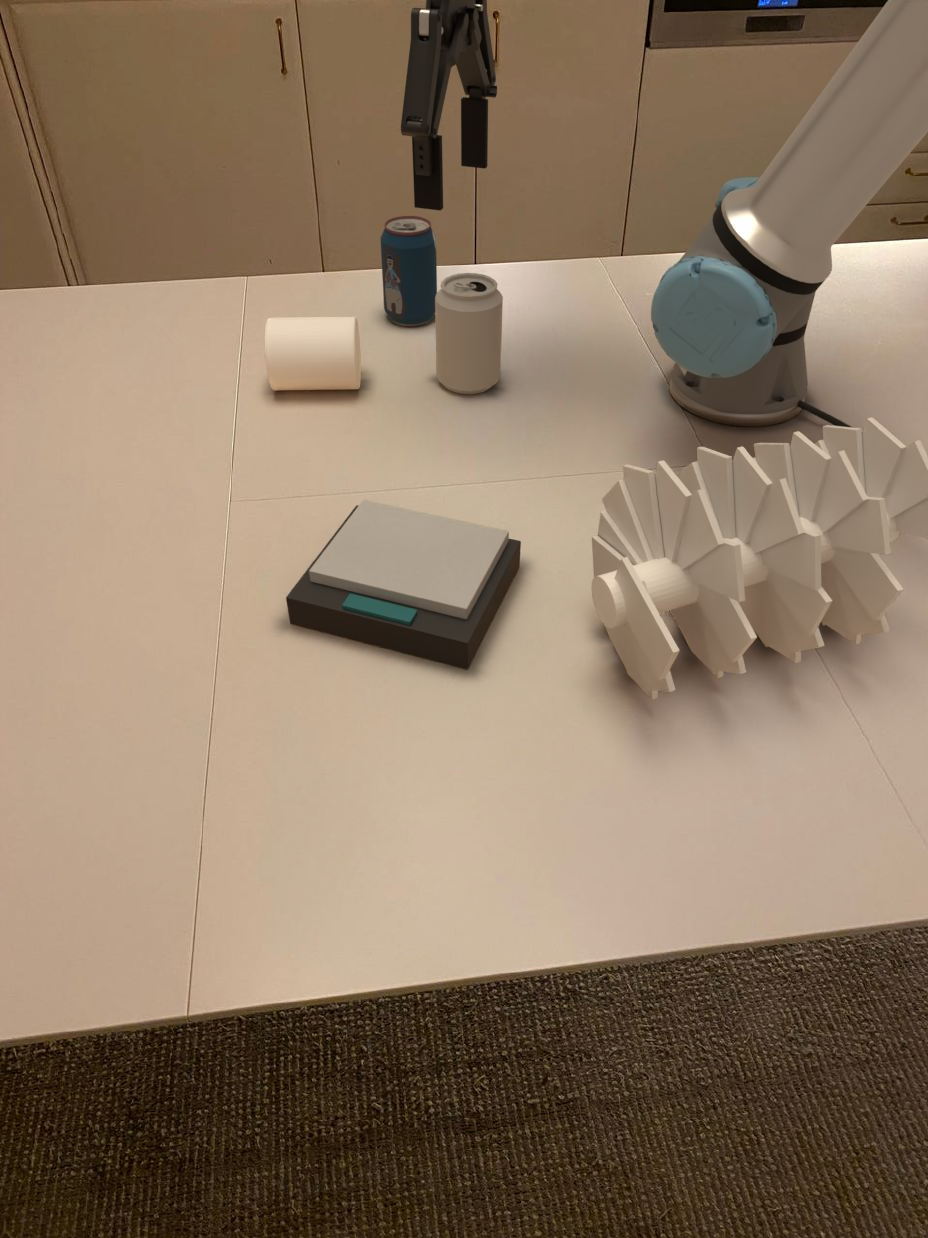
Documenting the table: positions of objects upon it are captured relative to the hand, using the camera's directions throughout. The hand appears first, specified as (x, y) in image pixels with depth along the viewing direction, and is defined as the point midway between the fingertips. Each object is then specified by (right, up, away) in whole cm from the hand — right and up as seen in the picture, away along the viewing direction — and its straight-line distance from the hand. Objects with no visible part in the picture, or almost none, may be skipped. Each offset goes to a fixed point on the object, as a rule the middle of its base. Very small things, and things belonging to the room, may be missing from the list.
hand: (452, 186), depth 97 cm
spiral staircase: (+23, -46, -18) cm, 54 cm away
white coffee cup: (-16, -16, +16) cm, 27 cm away
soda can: (-6, -5, +28) cm, 29 cm away
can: (+2, -16, +15) cm, 22 cm away
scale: (-4, -42, -14) cm, 44 cm away
